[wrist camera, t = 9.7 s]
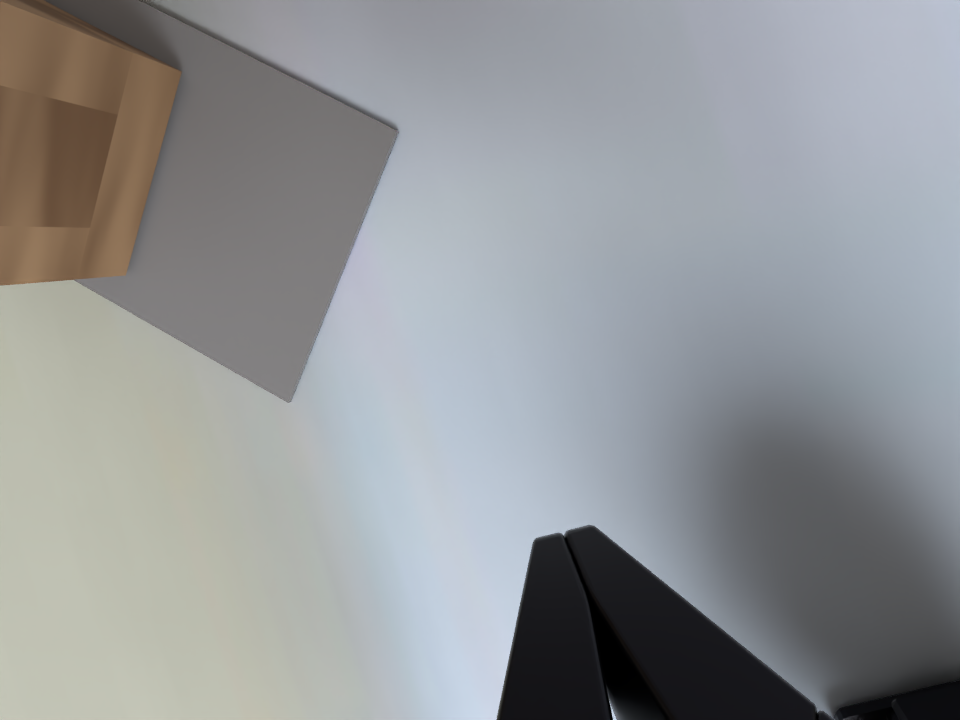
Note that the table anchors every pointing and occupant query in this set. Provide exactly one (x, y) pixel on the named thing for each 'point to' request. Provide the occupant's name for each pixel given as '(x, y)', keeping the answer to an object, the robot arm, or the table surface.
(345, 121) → the gray angle bracket
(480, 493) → the table surface
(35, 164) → the walnut block
